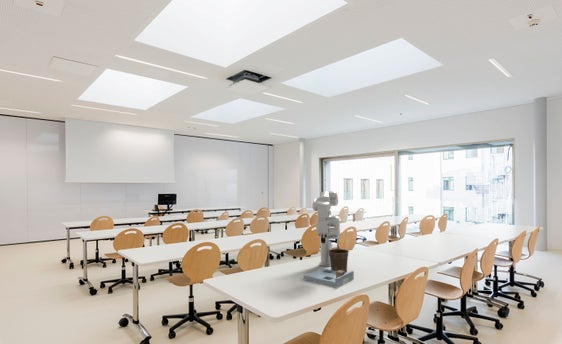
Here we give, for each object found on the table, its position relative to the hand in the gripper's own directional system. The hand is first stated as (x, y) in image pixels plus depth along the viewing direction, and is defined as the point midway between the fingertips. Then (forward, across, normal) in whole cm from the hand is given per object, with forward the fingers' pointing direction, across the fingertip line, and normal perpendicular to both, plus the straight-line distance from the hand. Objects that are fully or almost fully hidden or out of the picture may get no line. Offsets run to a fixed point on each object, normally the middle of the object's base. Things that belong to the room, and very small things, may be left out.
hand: (323, 242), depth 236 cm
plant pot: (+25, -5, -15) cm, 30 cm away
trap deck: (+24, -8, +7) cm, 26 cm away
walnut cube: (+21, -19, +8) cm, 29 cm away
